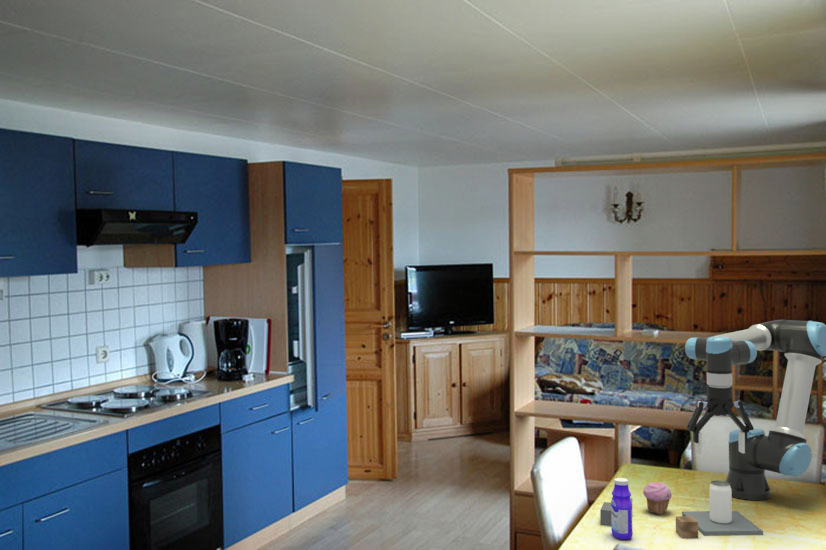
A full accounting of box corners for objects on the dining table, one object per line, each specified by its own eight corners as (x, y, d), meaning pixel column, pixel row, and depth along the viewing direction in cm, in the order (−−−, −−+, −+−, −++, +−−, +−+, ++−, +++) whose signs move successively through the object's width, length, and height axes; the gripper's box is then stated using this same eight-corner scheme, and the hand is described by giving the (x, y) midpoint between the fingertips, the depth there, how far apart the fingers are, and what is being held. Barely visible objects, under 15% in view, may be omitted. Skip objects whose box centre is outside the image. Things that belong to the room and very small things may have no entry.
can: (734, 524, 225) (733, 486, 225) (712, 523, 226) (711, 485, 226) (729, 517, 231) (728, 480, 231) (707, 516, 232) (707, 479, 232)
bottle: (608, 532, 223) (607, 476, 223) (626, 531, 224) (625, 475, 223) (617, 541, 216) (616, 483, 216) (635, 540, 216) (635, 482, 216)
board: (736, 514, 238) (736, 510, 238) (763, 534, 220) (763, 530, 220) (682, 515, 238) (682, 511, 238) (703, 535, 220) (703, 531, 220)
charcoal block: (616, 518, 236) (616, 503, 236) (613, 526, 228) (613, 511, 228) (604, 517, 237) (604, 501, 237) (600, 525, 230) (600, 509, 230)
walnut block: (692, 532, 223) (691, 516, 223) (698, 538, 218) (698, 521, 218) (675, 532, 223) (675, 516, 223) (681, 538, 218) (681, 522, 218)
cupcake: (638, 511, 242) (638, 481, 241) (653, 506, 247) (653, 477, 247) (661, 518, 234) (661, 488, 234) (677, 513, 240) (676, 483, 240)
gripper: (753, 383, 232) (753, 448, 233) (675, 384, 232) (676, 450, 232) (764, 387, 225) (765, 455, 225) (684, 388, 225) (685, 456, 225)
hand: (720, 452), depth 229 cm, fingers open, 13 cm apart
